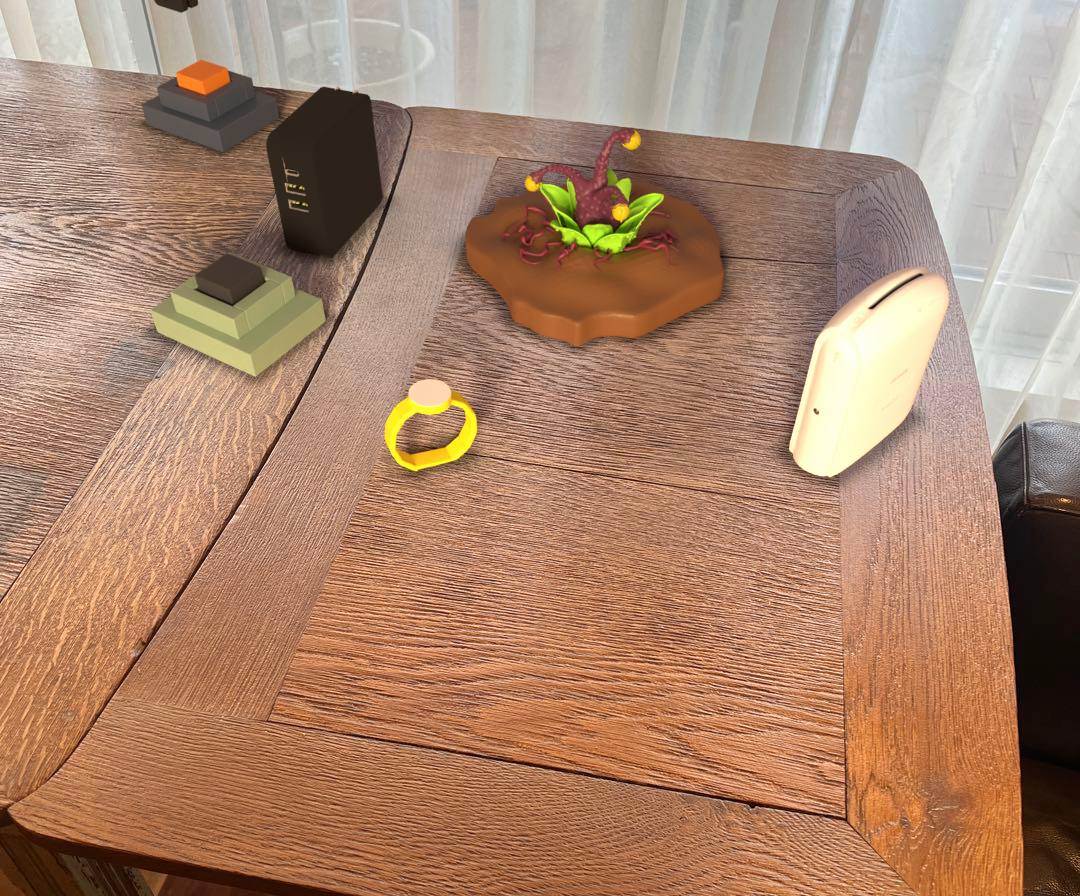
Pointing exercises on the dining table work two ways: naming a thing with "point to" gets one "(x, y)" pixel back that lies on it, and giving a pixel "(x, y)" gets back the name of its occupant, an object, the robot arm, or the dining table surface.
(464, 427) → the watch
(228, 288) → the key
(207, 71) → the key
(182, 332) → the green stepped button
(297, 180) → the electronic device
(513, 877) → the dining table surface
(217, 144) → the grey orange stepped button
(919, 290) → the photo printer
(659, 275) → the plant
